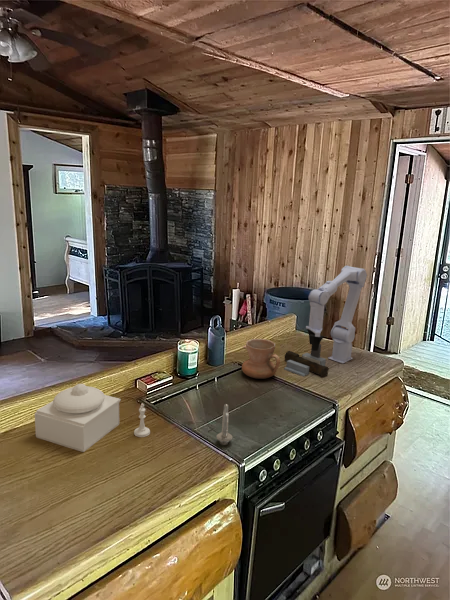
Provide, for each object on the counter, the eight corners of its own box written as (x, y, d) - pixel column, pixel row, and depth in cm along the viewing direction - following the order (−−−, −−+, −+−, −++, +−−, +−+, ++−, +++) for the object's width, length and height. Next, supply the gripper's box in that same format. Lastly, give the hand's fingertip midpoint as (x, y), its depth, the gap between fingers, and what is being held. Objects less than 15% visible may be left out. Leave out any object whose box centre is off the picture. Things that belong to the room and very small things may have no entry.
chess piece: (152, 430, 138) (153, 401, 135) (145, 438, 133) (145, 408, 131) (139, 427, 139) (139, 398, 137) (130, 435, 135) (130, 405, 132)
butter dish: (35, 438, 131) (33, 389, 127) (76, 411, 147) (75, 367, 143) (83, 453, 125) (82, 402, 121) (120, 424, 141) (120, 378, 137)
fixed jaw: (289, 366, 195) (290, 359, 194) (309, 373, 188) (309, 366, 187) (284, 369, 192) (284, 361, 191) (303, 376, 185) (304, 368, 184)
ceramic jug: (232, 373, 184) (233, 341, 181) (252, 364, 195) (254, 334, 191) (267, 387, 173) (269, 353, 170) (286, 377, 184) (289, 345, 180)
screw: (215, 438, 135) (230, 438, 136) (217, 447, 130) (233, 446, 131) (217, 400, 132) (232, 399, 133) (219, 408, 127) (235, 407, 128)
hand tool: (328, 376, 187) (330, 364, 186) (321, 378, 184) (323, 366, 183) (289, 359, 204) (290, 348, 203) (282, 361, 201) (283, 350, 200)
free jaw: (306, 359, 204) (308, 340, 202) (325, 366, 198) (327, 346, 195) (301, 362, 201) (303, 342, 199) (320, 368, 194) (322, 348, 192)
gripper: (305, 312, 195) (302, 341, 199) (309, 321, 181) (306, 352, 185) (320, 313, 195) (318, 342, 198) (326, 322, 181) (323, 353, 184)
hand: (313, 347), depth 191 cm, fingers open, 7 cm apart
